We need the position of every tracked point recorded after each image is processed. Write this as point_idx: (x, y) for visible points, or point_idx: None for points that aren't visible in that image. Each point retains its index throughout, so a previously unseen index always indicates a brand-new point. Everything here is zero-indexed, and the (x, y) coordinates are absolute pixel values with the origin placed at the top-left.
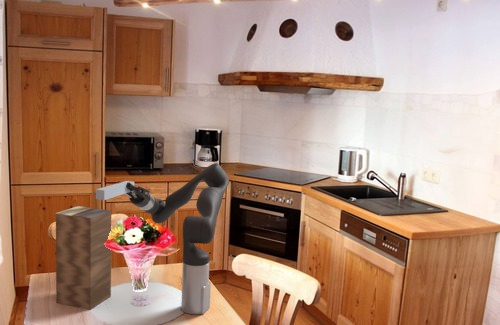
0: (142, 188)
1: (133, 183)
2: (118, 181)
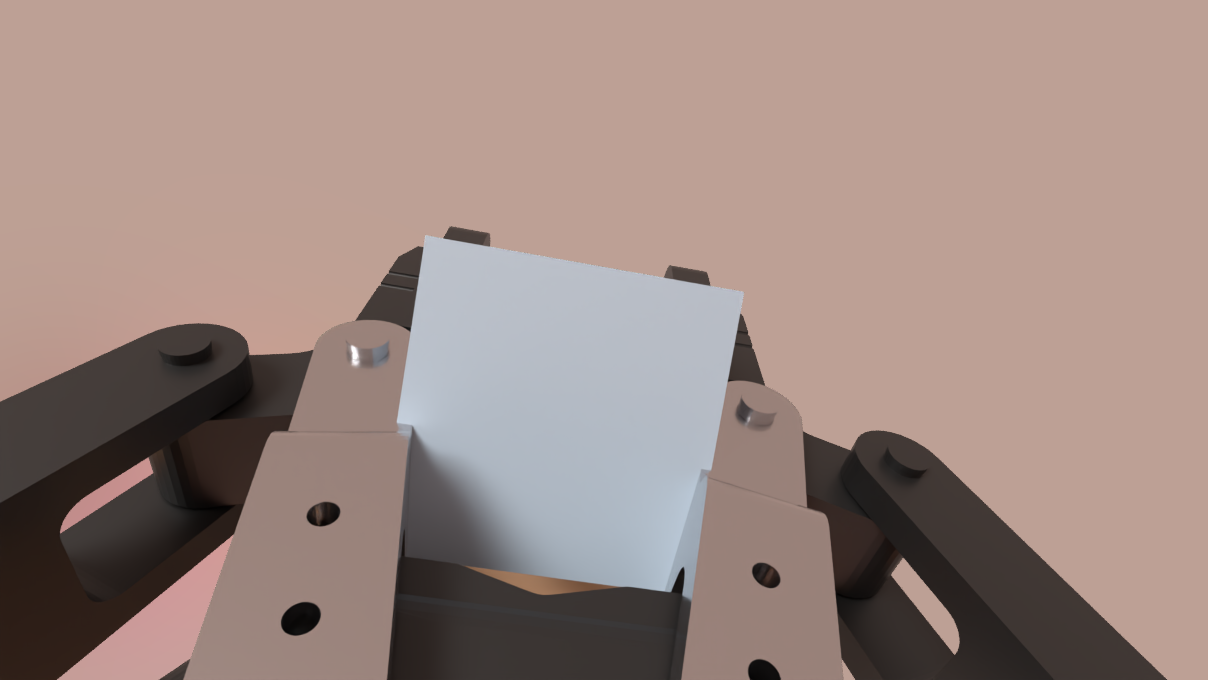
0: (32, 403)
1: (429, 289)
2: (692, 271)
